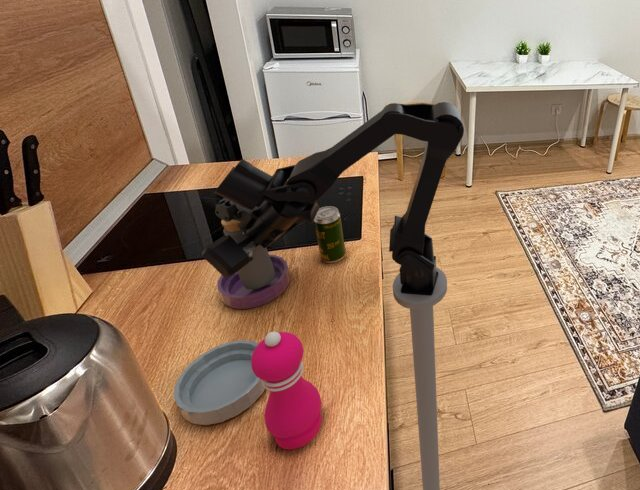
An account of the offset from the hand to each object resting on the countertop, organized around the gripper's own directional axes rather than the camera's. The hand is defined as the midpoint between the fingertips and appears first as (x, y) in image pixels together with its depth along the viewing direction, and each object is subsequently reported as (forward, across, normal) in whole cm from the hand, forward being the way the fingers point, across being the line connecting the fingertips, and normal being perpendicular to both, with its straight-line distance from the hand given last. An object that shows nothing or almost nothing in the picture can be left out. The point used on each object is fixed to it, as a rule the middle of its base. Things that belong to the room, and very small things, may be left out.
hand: (243, 249), depth 81 cm
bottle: (+4, 0, +7) cm, 8 cm away
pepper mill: (-13, +20, +27) cm, 36 cm away
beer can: (+1, -13, +13) cm, 19 cm away
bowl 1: (+6, 0, +7) cm, 10 cm away
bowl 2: (-3, +18, +16) cm, 25 cm away
